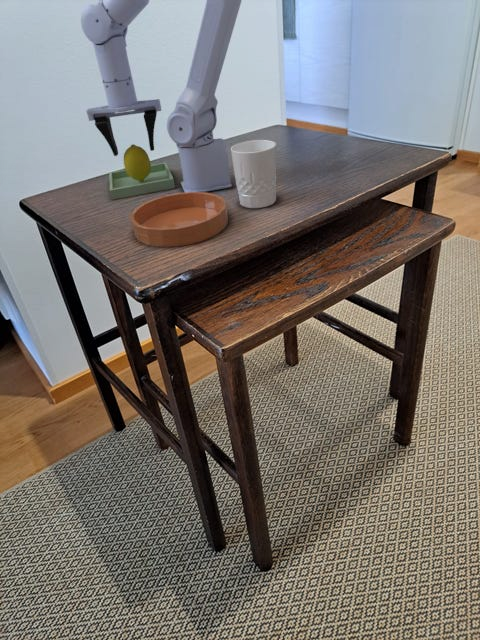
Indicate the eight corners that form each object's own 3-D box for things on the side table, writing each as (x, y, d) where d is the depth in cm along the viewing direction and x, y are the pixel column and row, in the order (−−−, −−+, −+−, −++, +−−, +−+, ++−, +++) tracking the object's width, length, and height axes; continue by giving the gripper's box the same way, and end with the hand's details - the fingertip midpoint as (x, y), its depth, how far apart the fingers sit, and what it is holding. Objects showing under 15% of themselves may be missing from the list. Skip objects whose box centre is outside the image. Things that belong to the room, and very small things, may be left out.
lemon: (150, 176, 101) (141, 139, 97) (157, 182, 97) (149, 144, 92) (126, 182, 100) (116, 144, 95) (132, 188, 95) (122, 149, 91)
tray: (168, 170, 105) (166, 162, 104) (175, 188, 94) (173, 178, 93) (111, 181, 103) (109, 172, 102) (112, 199, 92) (109, 190, 91)
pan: (217, 201, 85) (215, 186, 84) (237, 234, 72) (235, 217, 71) (132, 217, 83) (128, 202, 81) (137, 254, 70) (133, 237, 68)
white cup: (243, 213, 79) (237, 155, 73) (232, 199, 86) (225, 144, 80) (285, 204, 80) (282, 147, 75) (271, 191, 87) (267, 137, 81)
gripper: (76, 88, 83) (97, 162, 91) (154, 77, 84) (168, 152, 92) (82, 83, 89) (101, 153, 97) (155, 73, 90) (168, 143, 97)
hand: (134, 152), depth 95 cm, fingers open, 7 cm apart
